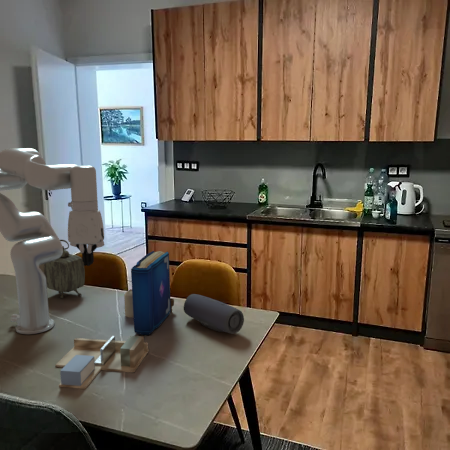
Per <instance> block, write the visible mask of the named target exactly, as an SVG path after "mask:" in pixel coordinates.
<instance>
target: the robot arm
mask: <svg viewBox="0 0 450 450" xmlns="http://www.w3.org/2000/svg"><path fill="white" fill-rule="evenodd" d="M97 183H98V182H97V170H96V168H95V166H93V165H79V164H76V163H75V164H74V163H67V164H63V163H62V164H46V161H45V159H44V158H43V157H42V155H41V153H40V152H39V151H38V150H36V149H34V148H31V147H26V148H25V147H24V148H23V147H20V148H18V147H13V148H12V147H11V148H10V147H9V148H5V149H3V150H1V151H0V233H1V235H2V237H3V238H4V239H5V240H7V242H15V244H14V245H13V246H12V247H11V249H10V259H11V263H12V266H13V269H14V274H15V281H16V283H15V284H16V291H17V302H18V313H19V314H17V313H12V314H11V316H10V322H13V323H15V322H16V323H17V324H16V325H15V331H16V332H17V334H21V335H34V334H40V333H43V332H46V331H49V330H52V328H53V327H54V326H55V320H54V319H52V318H51V317H50V311H49V310H50V309H49V299H48V297H49V296H48V288H47V282H46V276H45V274H44V270H42V269H41V268H40V266H42V265H44V264H45V263H48V262H52V261H55V260H57V259H59V258H60V257H61V255H62V253H63V247H62V246H63V244H62V241H60V240H61V239H60V238H59V236H58V235H57V233H56V231H55V230H54V229H53V226H52V225H51V223H50V222H49V220H48V219H47V218H46V216H45V215H44V214H42V213H41V212H39V211H36V210H35V211H34V210H33V211H25V212H22V211H20V210H19V209H18V208H17V207H16V204H15V203H14V201H13V200H11V198H9V197H8V196H6V195H5V194H3V193H1V191H10V190H11V191H12V190H18V189H21V188H24V187H25V186H26V185H29V186H31V187H33V188H37V189H40V190H44V191H56V190H68V189H70V195H71V196H70V197H71V201H69V202H68V203H67V206H68V208H69V207H70V208H71V210H70V211H69V213H68V218H67V219H68V220H67V240H68V241H67V242H68V243H69V246H71V247H73V248H77V250H79V252H80V254H81V258H82V261H83V263H84V267H86V266H87V267H89V266H91V265H92V264H94V261H95V257H94V252H95V251H96V250H97V248H101V247H102V248H103V247H104V246H105V242H104V240H105V228H104V220H103V216H102V213H101V210H99V205H98V203H99V202H98V185H97ZM16 242H17V243H16Z"/></svg>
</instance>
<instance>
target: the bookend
mask: <svg viewBox="0 0 450 450" xmlns="http://www.w3.org/2000/svg"><path fill="white" fill-rule="evenodd" d="M107 340H108V341H107V342H106V343H105V344H104V346H103V347H102V348H101V349H100V353H101V355H100V356H99V357H98V359H97V360H96V361H95V365H104V364H105V363H106V362H107V361H108V360H109V358H110V357H111V356H112V355H113V353H114V352H115V351H116V350H115V341H116V336H115V335H112V336H111V337H110V338H108V339H107Z"/></svg>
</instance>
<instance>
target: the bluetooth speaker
mask: <svg viewBox="0 0 450 450" xmlns="http://www.w3.org/2000/svg"><path fill="white" fill-rule="evenodd" d="M183 311H184V313H185V315H187V316H188V317H190V318H191V319H194V320H195V321H198V322H199V323H201V325H202V326H204V327H206V328H208V329H211V330H212V331H215V332H218V333H222V332H225V333H228V334H230V335H234V334H237V333H238V332H240V331H241V329H242V328H243V327H244V322H245V317H244V313H243V312H242V310H240V309H238V308H237V307H234V306H232V305H229V304H227V303H225V302H222V301H219V300H217V299H213V298H211V297H208V296H205V295H201V294H198V293H197V294H196V293H191V294H189V295H188V296H187V297H186V299H185V301H184V304H183Z"/></svg>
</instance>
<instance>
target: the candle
mask: <svg viewBox="0 0 450 450" xmlns="http://www.w3.org/2000/svg"><path fill="white" fill-rule="evenodd" d="M123 297H124V316H125V317H126V318H129V319H134V316H133V298H132V288H131V289H128V290H126V292H125V293H124V295H123Z"/></svg>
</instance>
